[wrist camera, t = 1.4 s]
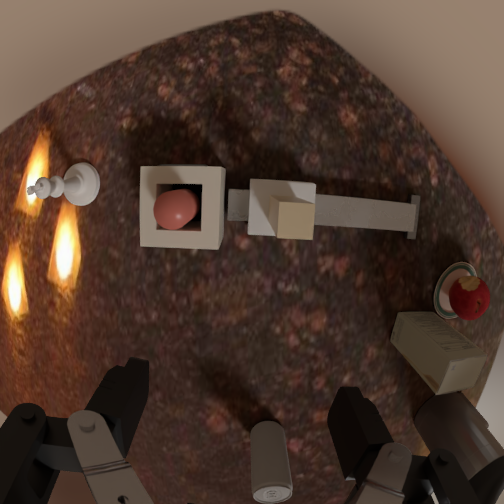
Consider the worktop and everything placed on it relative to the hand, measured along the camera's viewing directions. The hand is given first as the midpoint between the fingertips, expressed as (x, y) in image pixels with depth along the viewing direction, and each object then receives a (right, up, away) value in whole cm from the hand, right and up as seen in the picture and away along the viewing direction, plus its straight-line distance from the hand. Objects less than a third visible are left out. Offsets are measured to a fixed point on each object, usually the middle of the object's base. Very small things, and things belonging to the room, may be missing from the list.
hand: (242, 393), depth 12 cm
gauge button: (-6, +10, +16) cm, 20 cm away
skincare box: (+21, -4, +24) cm, 32 cm away
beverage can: (+3, -20, +27) cm, 34 cm away
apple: (+28, +1, +23) cm, 36 cm away
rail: (+8, +10, +20) cm, 24 cm away
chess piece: (-19, +13, +19) cm, 30 cm away
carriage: (+3, +11, +20) cm, 23 cm away
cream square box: (-6, +11, +20) cm, 23 cm away
